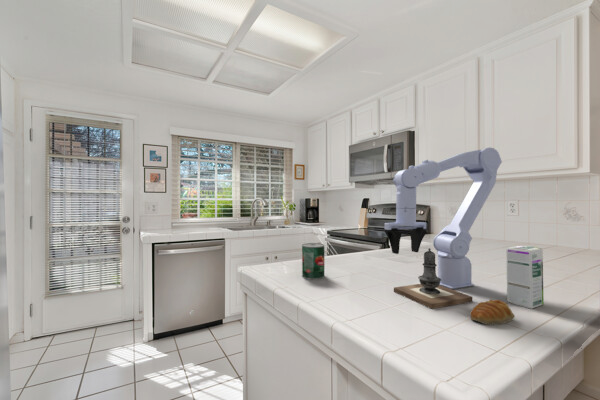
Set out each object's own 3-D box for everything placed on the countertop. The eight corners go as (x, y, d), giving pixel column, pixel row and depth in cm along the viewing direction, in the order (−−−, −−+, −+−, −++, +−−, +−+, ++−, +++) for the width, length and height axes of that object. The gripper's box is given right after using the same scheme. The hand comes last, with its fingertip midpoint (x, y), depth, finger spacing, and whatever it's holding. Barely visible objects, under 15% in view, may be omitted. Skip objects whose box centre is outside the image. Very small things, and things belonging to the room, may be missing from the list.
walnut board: (430, 286, 89) (430, 281, 89) (472, 301, 76) (472, 296, 76) (393, 291, 84) (393, 287, 84) (431, 308, 71) (431, 303, 71)
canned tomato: (325, 279, 97) (325, 246, 97) (302, 279, 97) (301, 246, 97) (323, 273, 105) (323, 243, 105) (302, 273, 105) (302, 243, 105)
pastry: (493, 330, 60) (492, 312, 60) (461, 318, 66) (461, 302, 66) (516, 321, 64) (516, 303, 64) (485, 310, 70) (485, 295, 70)
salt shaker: (443, 295, 77) (443, 250, 77) (420, 293, 78) (420, 249, 78) (438, 288, 82) (438, 246, 82) (416, 287, 84) (416, 245, 84)
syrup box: (532, 309, 70) (532, 250, 70) (505, 301, 75) (505, 246, 75) (544, 305, 73) (544, 248, 73) (517, 298, 78) (517, 244, 78)
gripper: (414, 207, 95) (414, 249, 95) (378, 207, 90) (377, 251, 90) (431, 208, 88) (431, 252, 88) (393, 208, 83) (393, 255, 83)
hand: (405, 252), depth 89 cm, fingers open, 7 cm apart
